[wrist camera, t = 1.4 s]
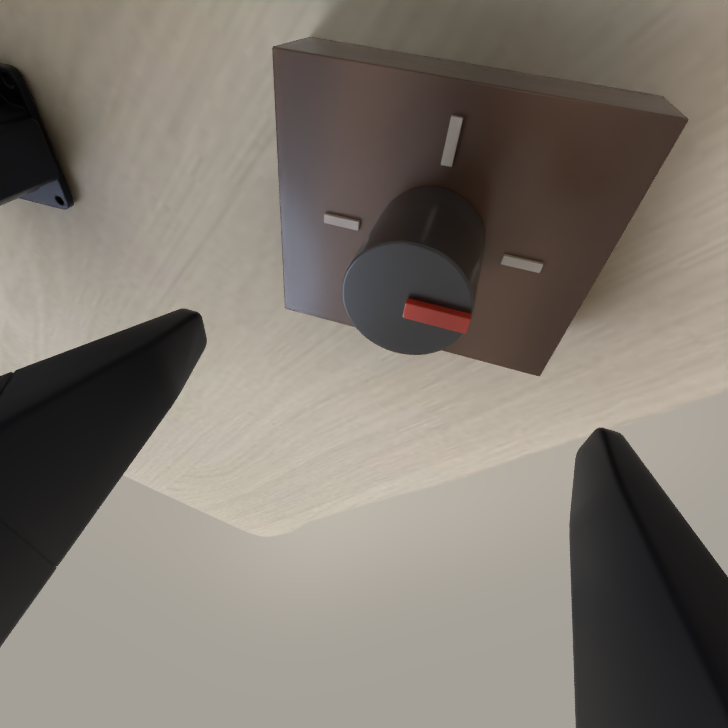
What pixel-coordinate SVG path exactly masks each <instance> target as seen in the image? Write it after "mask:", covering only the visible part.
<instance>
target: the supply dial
mask: <svg viewBox="0 0 728 728" xmlns="http://www.w3.org/2000/svg"><path fill="white" fill-rule="evenodd" d="M484 248H485V232H484V227H483V224H482V221H481V219H480V217H479V215H478V213H477V212H476V210H475V209H474V207H473V206H472V205H471V204H470V203H469V202H468V201H467V200H465V199H464V198H463V197H461V196H460V195H458V194H457V193H455V192H452V191H450V190H447V189H444V188H439V187H419V188H415V189H411V190H409V191H406V192H404V193H402V194H401V195H399V196H397V197H396V198H395V199H394V200H392V201H391V202H390V203H389V205H388V206H387V207H386V208H385V210H384V211H383V213H382V214H381V216H380V217H379V219H378V221H377V222H376V224H375V225H374V227H373V228H372V230H371V232H370V233H369V235H368V236H367V238H366V239H365V241H364V243H363V244H362V246H361V247H360V249H359V250H358V252H357V254H356V255H355V257H354V258H353V260H352V261H351V263H350V265H349V266H348V268H347V270H346V272H345V275H344V278H343V284H342V297H343V303H344V307H345V310H346V312H347V314H348V316H349V318H350V320H351V321H352V323H353V324H354V326H355V327H356V328H357V329H358V330H359V331H360V332H361V333H362V334H363V335H364V336H365V337H366V338H367V339H369V340H370V341H372V342H373V343H375V344H377V345H378V346H380V347H382V348H385V349H387V350H390V351H393V352H397V353H401V354H408V355H422V354H429V353H434V352H437V351H440V350H442V349H444V348H447V347H448V346H450V345H451V344H453V343H454V342H455V341H457V340H458V339H459V338H460V337H461V336H462V335H463V334H466V333H467V330H468V327H469V324H470V322H471V319H472V316H473V311H474V306H475V300H476V294H477V288H478V283H479V277H480V271H481V265H482V260H483V254H484Z"/></svg>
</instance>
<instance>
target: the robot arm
mask: <svg viewBox="0 0 728 728" xmlns="http://www.w3.org/2000/svg"><path fill="white" fill-rule="evenodd" d="M17 198H21V199H25V200H29V201H33V202H36V203H40V204H44V205H48V206H52V207H56V208H60V209H68V208H70V207H72V206H73V205H74V201H73V198H72V195H71V193H70V190H69V188H68V186H67V183H66V181H65V178H64V176H63V173H62V171H61V168H60V166H59V164H58V161H57V159H56V156H55V154H54V151H53V149H52V146H51V144H50V141H49V139H48V137H47V134H46V132H45V129H44V127H43V124H42V122H41V119H40V117H39V114H38V112H37V110H36V107H35V105H34V102H33V100H32V97H31V95H30V92H29V90H28V88H27V85H26V83H25V80H24V78H23V76H22V75H21V73H20V72H19V71H18V70H17V69H16V68H15V67H13V66H11V65H7V64H2V63H0V205H3V204H5V203H8V202H10V201H12V200H15V199H17ZM206 343H207V338H206V333H205V329H204V324H203V320H202V316H201V315H200V314H199V313H198V312H195V311H192V310H188V309H179V310H176V311H173V312H171V313H168V314H165V315H163V316H160V317H157V318H155V319H152V320H149V321H147V322H144V323H141V324H139V325H136V326H133V327H131V328H128V329H125V330H123V331H120V332H117V333H115V334H112V335H109V336H107V337H104V338H101V339H98V340H96V341H93V342H90V343H88V344H85V345H82V346H80V347H77V348H74V349H72V350H69V351H66V352H64V353H61V354H58V355H56V356H53V357H50V358H48V359H45V360H42V361H40V362H37V363H34V364H32V365H29V366H26V367H24V368H21V369H18V370H16V371H15V372H14V373H13V372H10V373H7V374H5V375H2V376H0V647H1V645H2V644H3V643H4V641H5V640H6V638H7V637H8V636H9V634H10V633H11V631H12V630H13V629H14V627H15V626H16V624H17V623H18V621H19V620H20V618H21V617H22V616H23V614H24V613H25V612H26V610H27V609H28V607H29V606H30V605H31V603H32V602H33V600H34V599H35V598H36V596H37V595H38V593H39V592H40V591H41V589H42V588H43V586H44V585H45V584H46V582H47V581H48V579H49V578H50V577H51V575H52V574H53V572H54V571H55V570H56V566H58V565H59V564H60V562H61V561H62V559H63V558H64V557H65V555H66V554H67V552H68V551H69V550H70V548H71V547H72V545H73V544H74V543H75V541H76V540H77V538H78V537H79V536H80V534H81V533H82V531H83V530H84V528H85V527H86V526H87V524H88V523H89V522H90V520H91V519H92V517H93V516H94V514H95V513H96V512H97V510H98V509H99V507H100V506H101V505H102V503H103V502H104V500H105V499H106V498H107V496H108V495H109V493H110V492H111V491H112V489H113V488H114V486H115V485H116V483H117V482H118V481H119V479H120V478H121V477H122V475H123V474H124V472H125V471H126V470H127V468H128V467H129V465H130V464H131V463H132V461H133V460H134V458H135V457H136V456H137V454H138V453H139V451H140V450H141V449H142V447H143V446H144V444H145V443H146V442H147V440H148V439H149V437H150V436H151V435H152V433H153V432H154V430H155V429H156V427H157V426H158V425H159V423H160V422H161V420H162V419H163V418H164V416H165V415H166V413H167V412H168V411H169V409H170V408H171V406H172V405H173V403H174V402H175V400H176V399H177V397H178V396H179V394H180V392H181V391H182V389H183V387H184V385H185V383H186V382H187V380H188V378H189V376H190V374H191V373H192V371H193V369H194V367H195V365H196V364H197V362H198V360H199V358H200V356H201V355H202V353H203V351H204V349H205V347H206ZM570 562H571V563H570V564H571V593H572V594H571V595H572V624H573V655H574V686H575V716H576V728H728V577H727V575H726V574H725V573H724V571H723V570H722V569H721V567H720V566H719V565H718V563H717V562H716V561H715V559H714V558H713V556H712V555H711V554H710V552H709V551H708V550H707V548H706V547H705V546H704V545H703V543H702V542H701V541H700V539H699V538H698V536H697V535H696V534H695V532H694V531H693V530H692V528H691V527H690V525H689V524H688V523H687V521H686V520H685V519H684V517H683V516H682V515H681V513H680V512H679V511H678V509H677V508H676V507H675V505H674V504H673V503H672V501H671V500H670V499H669V497H668V496H667V494H666V493H665V492H664V490H663V489H662V488H661V486H660V485H659V484H658V482H657V481H656V480H655V478H654V477H653V476H652V474H651V473H650V472H649V470H648V469H647V468H646V467H645V465H644V463H643V462H642V461H641V459H640V458H639V457H638V455H637V454H636V453H635V451H634V450H633V449H632V447H631V446H630V445H629V443H628V442H627V441H626V439H625V438H624V437H623V435H621V434H620V433H618V432H615V431H612V430H608V429H605V428H598V429H596V430H595V431H594V432H593V433H592V434H591V435H590V437H589V438H588V439H587V440H586V441H585V443H584V444H583V445H582V446H581V447H580V449H579V450H578V452H577V455H576V459H575V470H574V480H573V490H572V501H571V512H570Z"/></svg>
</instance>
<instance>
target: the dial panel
mask: <svg viewBox="0 0 728 728" xmlns="http://www.w3.org/2000/svg"><path fill="white" fill-rule="evenodd" d="M272 50H273V71H274V91H275V111H276V132H277V152H278V173H279V193H280V213H281V234H282V254H283V275H284V295H285V308H286V309H290V310H293V311H297V312H301V313H305V314H308V315H312V316H316V317H320V318H323V319H327V320H331V321H335V322H338V323H342V324H346V325H349V326H353V327H355V326H354V324H353V323H352V321H351V320H350V318H349V316H348V314H347V312H346V310H345V307H344V303H343V297H342V284H343V278H344V275H345V272H346V270H347V268H348V266H349V265H350V263H351V261H352V260H353V258H354V257H355V255H356V254H357V252H358V250H359V249H360V247H361V246H362V244H363V243H364V241H365V239H366V238H367V236H368V235H369V233H370V232H371V230H372V228H373V227H374V225H375V224H376V222H377V221H378V219H379V217H380V216H381V214H382V213H383V211H384V210H385V208H386V207H387V206H388V205H389V203H390V202H391V201H392V200H394V199H395V198H396V197H397V196H399V195H401V194H402V193H404V192H406V191H409V190H411V189H415V188H419V187H439V188H444V189H447V190H450V191H452V192H455V193H457V194H458V195H460V196H461V197H463V198H464V199H465V200H467V201H468V202H469V203H470V204H471V205H472V206H473V207H474V209H475V210H476V212H477V213H478V215H479V217H480V219H481V221H482V224H483V227H484V232H485V248H484V254H483V260H482V265H481V271H480V277H479V283H478V288H477V294H476V300H475V306H474V311H473V316H472V319H471V322H470V324H469V327H468V330H467V333H466V334H463V335H462V336H461V337H460V338H459V339H458V340H457V341H455V342H454V343H453V344H451V345H450V346H448V347H447V348H444V349H442V350H443V351H446V352H450V353H454V354H458V355H461V356H465V357H469V358H473V359H476V360H480V361H484V362H487V363H491V364H495V365H499V366H502V367H506V368H510V369H514V370H517V371H521V372H525V373H529V374H532V375H536V376H540V375H541V373H542V371H543V370H544V368H545V366H546V365H547V363H548V361H549V359H550V358H551V356H552V354H553V352H554V351H555V349H556V347H557V346H558V344H559V342H560V340H561V339H562V337H563V335H564V334H565V332H566V330H567V328H568V327H569V325H570V323H571V321H572V320H573V318H574V316H575V315H576V313H577V311H578V309H579V308H580V306H581V304H582V303H583V301H584V299H585V297H586V296H587V294H588V292H589V290H590V289H591V287H592V285H593V284H594V282H595V280H596V278H597V277H598V275H599V273H600V272H601V270H602V268H603V266H604V265H605V263H606V261H607V259H608V258H609V256H610V254H611V253H612V251H613V249H614V247H615V246H616V244H617V242H618V241H619V239H620V237H621V235H622V234H623V232H624V230H625V228H626V227H627V225H628V223H629V222H630V220H631V218H632V216H633V215H634V213H635V211H636V210H637V208H638V206H639V204H640V203H641V201H642V199H643V198H644V196H645V194H646V192H647V191H648V189H649V187H650V185H651V184H652V182H653V180H654V179H655V177H656V175H657V173H658V172H659V170H660V168H661V167H662V165H663V163H664V161H665V160H666V158H667V156H668V154H669V153H670V151H671V149H672V148H673V146H674V144H675V142H676V141H677V139H678V137H679V136H680V134H681V132H682V130H683V129H684V127H685V125H686V123H687V122H688V118H687V117H686V116H685V115H683V114H682V113H681V112H680V111H679V110H678V109H677V108H676V107H674V106H673V105H672V104H671V103H670V102H669V101H668V100H667V99H665V98H664V97H663V96H658V95H652V94H646V93H641V92H635V91H629V90H623V89H617V88H611V87H605V86H599V85H593V84H587V83H581V82H575V81H569V80H563V79H557V78H551V77H545V76H539V75H533V74H527V73H521V72H515V71H509V70H503V69H497V68H491V67H486V66H480V65H474V64H468V63H462V62H456V61H450V60H444V59H438V58H432V57H426V56H420V55H414V54H408V53H402V52H396V51H390V50H384V49H378V48H372V47H366V46H360V45H354V44H348V43H342V42H336V41H331V40H325V39H319V38H313V37H308V38H304V39H300V40H296V41H293V42H289V43H285V44H281V45H277V46H274V47H273V48H272Z"/></svg>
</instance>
